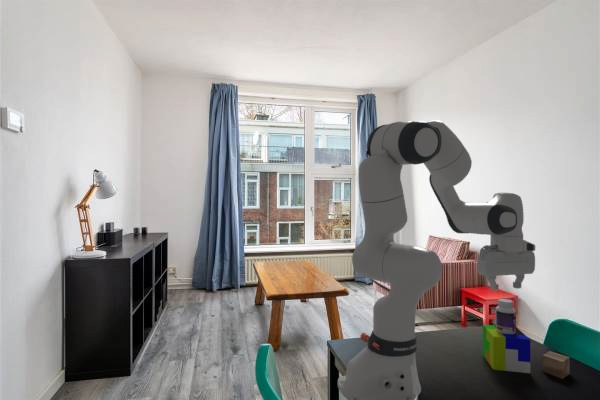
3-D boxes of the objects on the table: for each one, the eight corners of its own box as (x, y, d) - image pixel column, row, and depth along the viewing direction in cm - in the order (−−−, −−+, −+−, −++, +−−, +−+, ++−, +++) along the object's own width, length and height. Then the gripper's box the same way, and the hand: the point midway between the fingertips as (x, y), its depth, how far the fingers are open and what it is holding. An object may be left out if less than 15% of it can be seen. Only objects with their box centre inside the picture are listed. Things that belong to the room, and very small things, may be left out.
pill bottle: (518, 335, 104) (518, 303, 104) (498, 333, 105) (498, 302, 105) (513, 329, 109) (512, 298, 109) (494, 327, 110) (493, 297, 111)
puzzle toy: (530, 373, 101) (530, 339, 101) (493, 369, 103) (493, 336, 103) (516, 358, 111) (516, 327, 111) (482, 355, 113) (483, 324, 113)
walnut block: (562, 379, 98) (562, 361, 98) (542, 371, 102) (542, 355, 102) (569, 374, 101) (569, 357, 101) (549, 367, 105) (549, 351, 105)
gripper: (489, 246, 101) (488, 293, 101) (539, 245, 107) (538, 289, 107) (472, 244, 107) (471, 288, 107) (520, 243, 113) (520, 284, 113)
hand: (505, 289), depth 107 cm, fingers open, 8 cm apart
